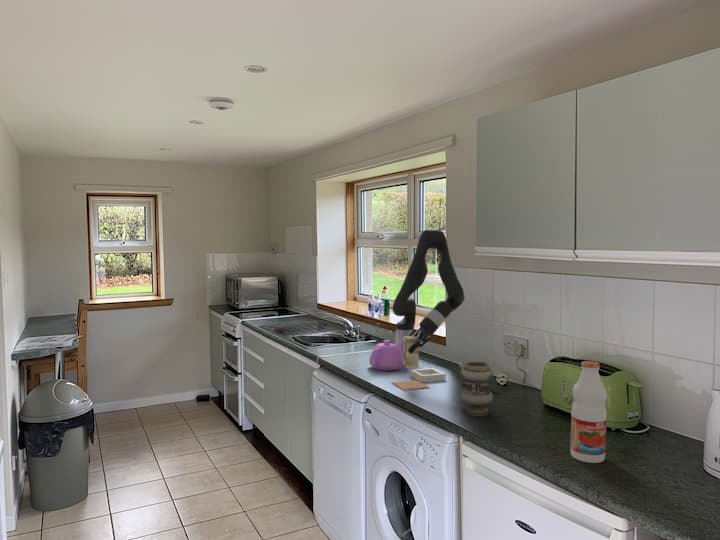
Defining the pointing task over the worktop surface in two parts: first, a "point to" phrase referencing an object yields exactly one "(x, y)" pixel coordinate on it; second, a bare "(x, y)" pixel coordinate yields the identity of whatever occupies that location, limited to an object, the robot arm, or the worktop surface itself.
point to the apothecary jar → (476, 388)
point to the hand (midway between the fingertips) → (406, 350)
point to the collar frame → (428, 375)
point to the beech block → (409, 358)
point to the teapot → (386, 356)
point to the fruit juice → (589, 416)
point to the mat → (410, 385)
